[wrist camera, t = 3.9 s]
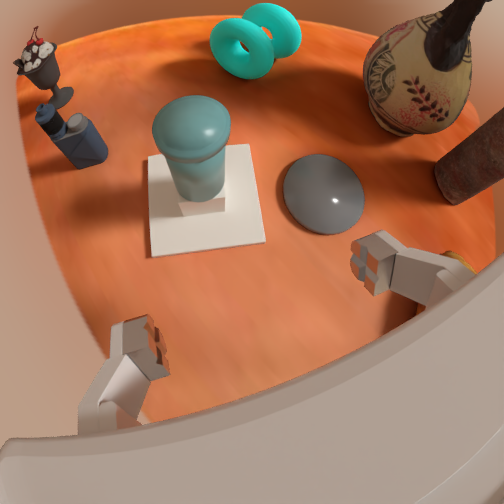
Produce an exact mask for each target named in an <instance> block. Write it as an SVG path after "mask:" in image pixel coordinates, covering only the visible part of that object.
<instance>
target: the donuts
mask: <svg viewBox="0 0 504 504" xmlns="http://www.w3.org/2000/svg"><path fill="white" fill-rule="evenodd" d="M261 26H263V27H265V28H267V29H268V30H269V31H270V32H271V34H272V37H273V39H270V38H269V37H268V36H267V34H266V33H265V32H264V31H263V30H262V27H261ZM240 41H241V42H242V43H243V44H244V45H245V46H246V47H247V48H248V50H249V52H247V51H245V50H244V49H243V48H242V46H241V44H240ZM300 43H301V29H300V26H299V24H298V22H297V21H296V19H295V18H294V17H293V15H292V14H291V13H290V12H288V11H287V10H285V9H284V8H282V7H280V6H278V5H274V4H271V3H260V4H256V5H254V6H251V7H250V8H249V9H247V10H246V12H245V13H244V15H243V17H242V19H240V18H230V19H226V20H223V21H221V22H219V23H218V24H217V25H216V26H215V27H214V28H213V30H212V32H211V35H210V48H211V51H212V53H213V55H214V57H215V59H216V60H217V62H218V63H219V64H220V65H221V66H222V67H223V68H224V69H225V70H226V71H228V72H229V73H231V74H232V75H234V76H237V77H239V78H243V79H257V78H260V77H262V76H264V75H265V74H267V73H268V72H269V71H270V69H271V68H272V66H273V63H274V58H276V59H278V58H285V57H288V56H290V55H292V54H293V53H295V52H296V51H297V49H298V48H299V46H300Z"/></svg>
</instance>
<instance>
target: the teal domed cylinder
mask: <svg viewBox="0 0 504 504" xmlns="http://www.w3.org/2000/svg"><path fill="white" fill-rule="evenodd" d="M230 126H231V120H230V115H229V113H228V111H227V109H226V108H225V107H224V106H223V105H222V104H221V103H220V102H218V101H217V100H215V99H213V98H210V97H206V96H200V95H192V96H185V97H181V98H178V99H176V100H174V101H172V102H170V103H168V104H167V105H166V106H164V107H163V108H162V109H161V110H160V111H159V113H158V114H157V115H156V117H155V119H154V122H153V126H152V134H153V138H154V140H155V143H156V146H157V148H158V150H159V151H160V152H161V153H162V155H164V156H165V159H166V162H167V164H168V167H169V170H170V173H171V176H172V178H173V181H174V184H175V187H176V189H177V191H178V193H179V194H180V195H181V196H182V197H183V198H185V199H186V200H188V201H191V202H205V201H208V200H211V199H213V198H214V197H215V196H217V195H218V194H219V193H220V191H221V190H222V188H223V186H224V182H225V146H226V144H227V142H228V139H229V136H230Z"/></svg>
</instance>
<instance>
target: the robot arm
mask: <svg viewBox="0 0 504 504" xmlns="http://www.w3.org/2000/svg"><path fill="white" fill-rule="evenodd" d="M351 251H352V252H353V255H352V257H351V259H350V266H351V270H352V272H353V274H354V276H355V277H356V278H357V279H358V280H360V281H363V282H364V287H365V288H366V289H367V290H368V291H369V292H370V293H371V294H372V295H373V296H376V295H378V294H380V293H382V292H384V291H386V290H389V289H390V290H391V291H393V292H396V293H398V294H400V295H402V296H405V297H407V298H409V299H411V300H414V301H416V302H418V303H420V304H423V305H425V306H426V309H425V311H423V312H421V313H420V314H418V315H417V316H415V317H413V318H412V319H410V320H408V321H407V322H405V323H403V324H402V325H400V326H398V327H397V328H395V329H393V330H391V331H390V332H388V333H386V334H384V335H383V336H381V337H379V338H377V339H375V340H374V341H372V342H370V343H368V344H366V345H364V346H362V347H360V348H358V349H356V350H355V351H353V352H351V353H349V354H347V355H345V356H343V357H340V358H338V359H336V360H334V361H332V362H330V363H328V364H326V365H324V366H321V367H319V368H317V369H315V370H312V371H310V372H308V373H306V374H303V375H301V376H299V377H296V378H294V379H291V380H289V381H286V382H284V383H281V384H279V385H276V386H274V387H271V388H268V389H266V390H263V391H260V392H258V393H255V394H252V395H249V396H246V397H243V398H241V399H238V400H235V401H232V402H228V403H225V404H222V405H219V406H216V407H212V408H209V409H206V410H202V411H199V412H195V413H191V414H188V415H184V416H180V417H176V418H172V419H168V420H163V421H159V422H154V423H150V424H145V425H142V424H141V423H139V422H138V421H137V417H138V415H139V412H140V409H141V406H142V404H143V401H144V398H145V396H146V393H147V391H148V388H149V385H150V383H151V382H150V381H153V380H156V379H159V378H162V377H166V376H169V375H170V369H169V363H168V360H167V358H166V357H165V354H166V352H167V349H166V344H165V341H164V338H163V336H162V333H161V332H160V330H159V328H156V327H154V320H153V319H152V317H151V316H150V315H149V314H146V315H143V316H139V317H136V318H132V319H129V320H126V321H123V322H120V323H116V324H113V325H112V327H111V339H110V358H109V359H106V361H105V363H104V364H103V366H102V367H101V369H100V371H99V372H98V374H97V376H96V377H95V379H94V380H93V382H92V384H91V385H90V387H89V389H88V390H87V392H86V394H85V395H84V397H83V399H82V401H81V402H80V404H79V406H78V435H72V436H60V437H43V438H11V439H9V440H7V441H6V442H5V444H4V445H3V446H2V448H1V449H0V504H504V252H503V253H502V254H501V255H500V256H498V257H497V258H496V259H495V260H494V261H492V262H491V263H490V264H489V265H487V266H486V267H485V268H484V269H482V270H481V271H480V272H479V273H477V274H476V275H475V274H474V273H473V272H471V271H470V270H469V269H468V268H467V267H466V266H464V265H463V264H462V263H461V262H459V261H458V260H456V259H453V258H449V257H445V256H442V255H438V254H434V253H430V252H427V251H423V250H419V249H415V248H411V247H410V248H406V247H405V246H404V245H403V244H401V243H400V242H399V241H398V240H396V239H395V238H394V237H393V236H391V235H390V234H389V233H387V232H386V231H385V230H379V231H377V232H374V233H372V234H370V235H368V236H365V237H363V238H360V239H357V240H355V241H352V244H351Z"/></svg>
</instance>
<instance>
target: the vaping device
mask: <svg viewBox="0 0 504 504" xmlns="http://www.w3.org/2000/svg"><path fill="white" fill-rule="evenodd" d="M36 111H37V114H36V116H35V120H36V122H37V123H38V124H39V125H40V126H41V127H42V129H43V130H44V131H45V132H46V133H47V135H48V136H49V137H50V138H51V141H53V142H54V144H55V145H56V146H57V147H58V148H59V149H60V150H61V151H62V152H63V153H64V155H65V156H66V157H67V158H68V159H69V160H70V161H71V162H72V163H73V164H74V166H75V167H76V168H77V169H82V168H85V167H89V166H92V165H96V164H99V163H102V162H104V161H105V160H106V158H107V156H108V148H107V145H106V144H105V142H104V141H103V139H102V138H101V136H100V134H99V133H98V131H97V130H96V128H95V126H94V125H93V123H92V121H91V120H89V119H88V118H87V117H85V116H83V114H81V113H76V114H74V115H72V116H71V117H70V118H69V120H68V121H67V122H64V120H63V119H62V117H61V116H60V115H59V113H58V112H57V110H56V109H55V108H54V106H53V105H52V104H46V105H45V104H44V103H42V104H40V105H39V106H38V107H37V109H36Z"/></svg>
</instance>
